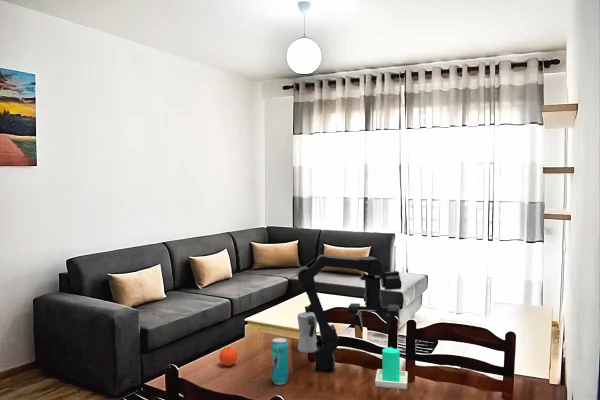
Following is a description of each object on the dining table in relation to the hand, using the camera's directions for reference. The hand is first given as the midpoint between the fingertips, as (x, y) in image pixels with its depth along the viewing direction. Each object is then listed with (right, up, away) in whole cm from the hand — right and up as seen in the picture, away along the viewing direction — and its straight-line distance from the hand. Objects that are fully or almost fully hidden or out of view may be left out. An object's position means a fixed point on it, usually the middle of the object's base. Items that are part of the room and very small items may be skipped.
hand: (374, 332), depth 182 cm
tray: (+4, -14, -13) cm, 19 cm away
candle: (+4, -13, -13) cm, 19 cm away
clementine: (-56, -14, +4) cm, 58 cm away
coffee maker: (-24, -13, +19) cm, 34 cm away
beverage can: (-35, -14, -12) cm, 40 cm away
